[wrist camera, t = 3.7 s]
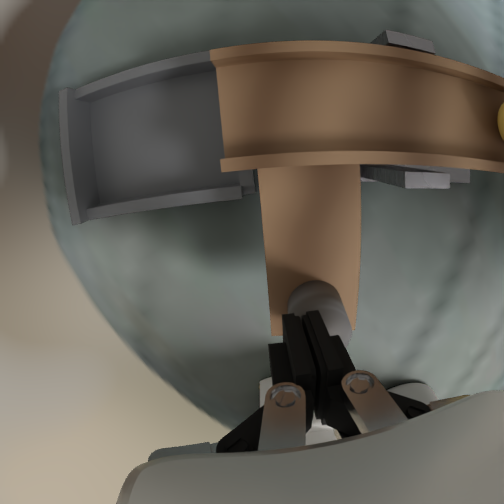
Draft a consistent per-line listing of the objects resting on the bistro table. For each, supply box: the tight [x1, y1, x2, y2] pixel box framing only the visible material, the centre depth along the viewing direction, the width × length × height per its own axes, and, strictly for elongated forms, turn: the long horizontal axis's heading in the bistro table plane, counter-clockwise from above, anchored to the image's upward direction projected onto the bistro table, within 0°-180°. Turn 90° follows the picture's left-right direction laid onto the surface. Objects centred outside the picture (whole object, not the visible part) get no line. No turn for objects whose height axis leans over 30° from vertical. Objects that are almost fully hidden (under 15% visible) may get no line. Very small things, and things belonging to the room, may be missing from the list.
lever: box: [210, 41, 504, 348], centre depth 11 cm, size 20×16×4 cm
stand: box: [360, 30, 470, 189], centre depth 13 cm, size 12×9×7 cm
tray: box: [59, 50, 255, 225], centre depth 16 cm, size 13×10×4 cm
